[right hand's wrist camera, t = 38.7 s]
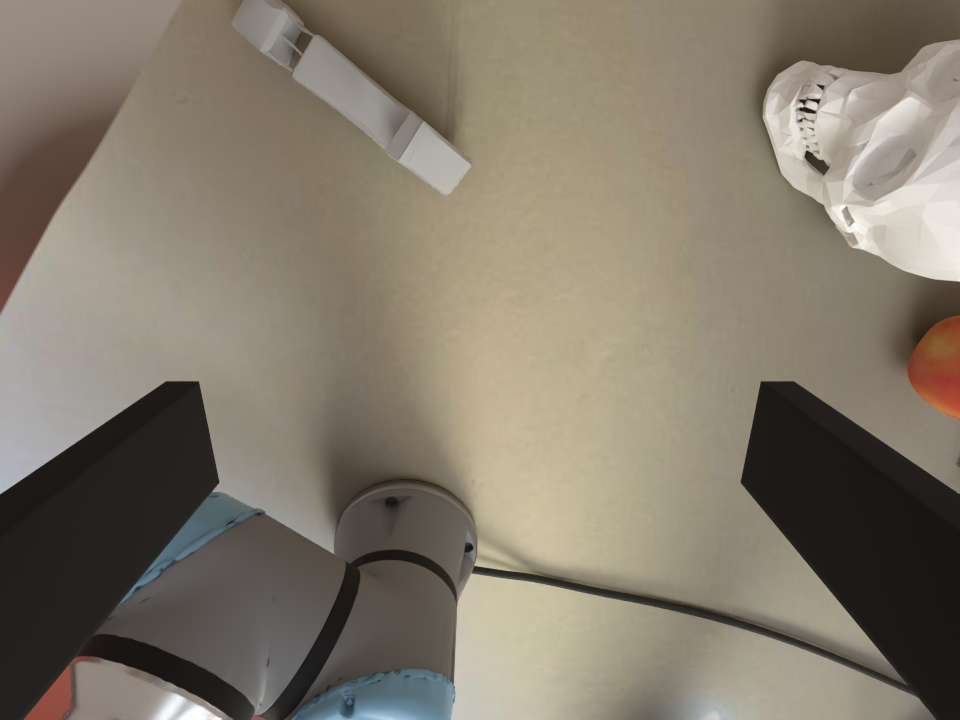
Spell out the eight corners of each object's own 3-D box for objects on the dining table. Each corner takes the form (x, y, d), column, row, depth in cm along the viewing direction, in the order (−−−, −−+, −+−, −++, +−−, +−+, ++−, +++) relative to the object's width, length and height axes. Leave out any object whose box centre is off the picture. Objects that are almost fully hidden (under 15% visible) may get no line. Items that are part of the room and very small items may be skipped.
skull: (806, 5, 40) (992, -79, 25) (1018, 142, 43) (1291, 139, 29) (704, 171, 44) (810, 182, 30) (903, 284, 48) (1087, 343, 33)
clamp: (476, 162, 43) (468, 155, 37) (449, 199, 44) (437, 198, 38) (276, -3, 41) (230, -43, 34) (252, 40, 42) (203, 9, 35)
